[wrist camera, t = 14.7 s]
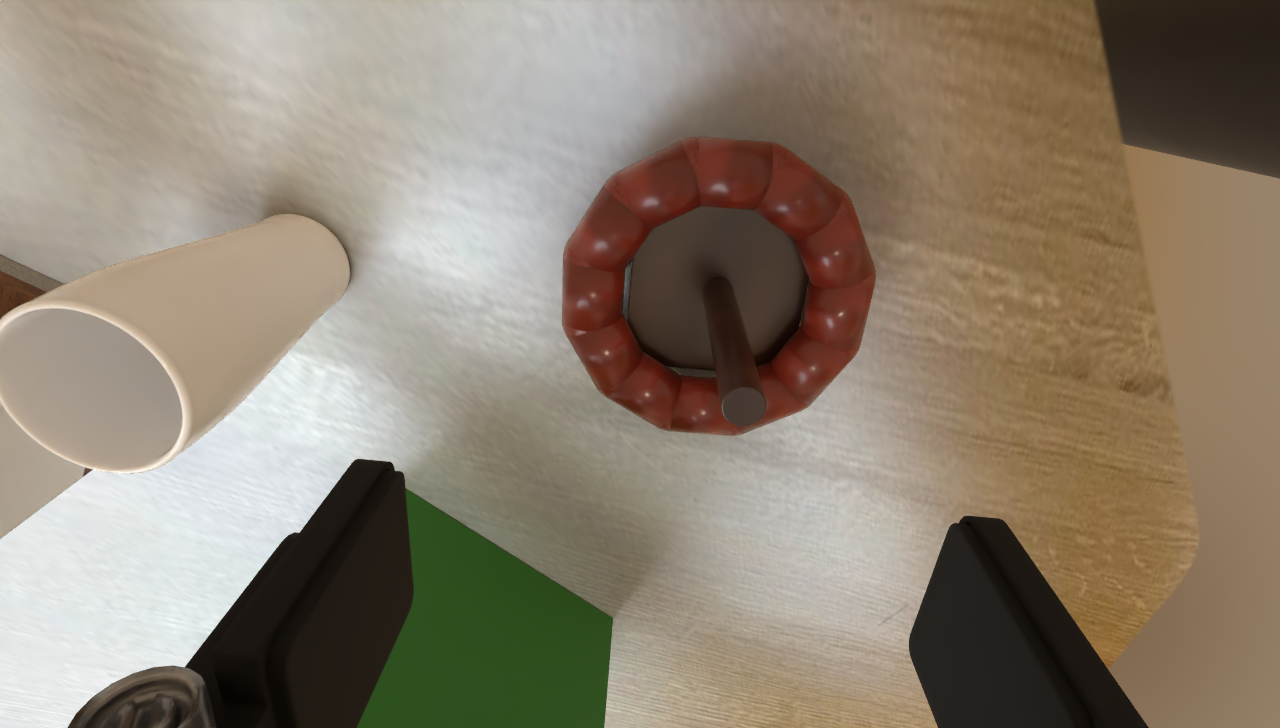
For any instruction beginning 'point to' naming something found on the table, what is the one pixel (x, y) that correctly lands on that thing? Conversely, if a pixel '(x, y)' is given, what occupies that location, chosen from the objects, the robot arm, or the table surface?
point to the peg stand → (718, 300)
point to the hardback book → (488, 640)
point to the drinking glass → (164, 341)
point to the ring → (723, 181)
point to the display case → (3, 453)
